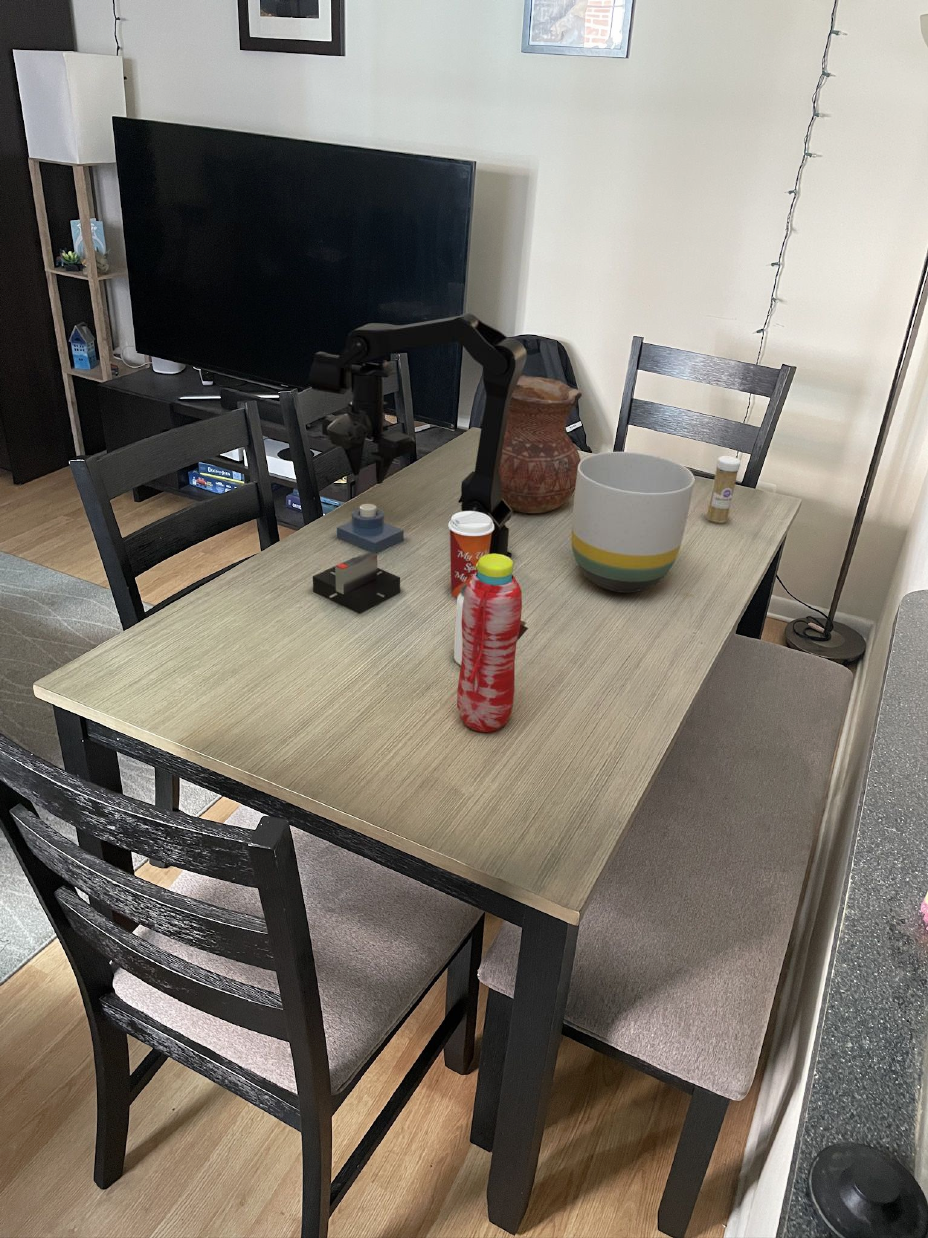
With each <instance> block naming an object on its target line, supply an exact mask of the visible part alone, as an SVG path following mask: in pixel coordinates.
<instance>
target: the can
mask: <svg viewBox="0 0 928 1238" xmlns="http://www.w3.org/2000/svg"><path fill="white" fill-rule="evenodd" d="M467 585H468V583H467V584H465V585H463V586H462V587H461V589H460V594H459V596H458V598H456V608H455V628H454V646H453V648H454V649H453V658H454V661H455V662H456V663H457V664H458V665H459V667H461V662H462V645H463V642H462V608H463V600H464V595H465V590H466V587H467Z"/></svg>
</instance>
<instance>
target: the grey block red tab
mask: <svg viewBox="0 0 928 1238" xmlns="http://www.w3.org/2000/svg"><path fill="white" fill-rule="evenodd" d="M352 558H353V559H352ZM352 558H350V559H351V560H350V559H348V560H349V561H347V560H346V561H347V562H345V561H343V562H344V563H343V562H339V563H338V564H336V565H337V566H336V565H335V577H336V591H337V592H340V593H342V594H345V593H347V592H349V591H351V590H353V589H356V588H358V587H360V586H362V585H364V584H366V583H368V582H370V581H372V580H374V579H376V578H377V568H378V554H377V553H373V552H370V551H366V552H364V553H362V554H360V555H357V556H355V557H352Z"/></svg>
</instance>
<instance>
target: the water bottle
mask: <svg viewBox="0 0 928 1238" xmlns="http://www.w3.org/2000/svg"><path fill="white" fill-rule="evenodd" d="M476 568H477V569H478V571H477V572H476V573H475V575H474V577H472V578H471V579H470V581H469V582H468V585H467V587H466V590H465V595H464V600H463V608H462V642H463V645H462V662H461V666H460V669H459V675H458V676H459V677H458V683H457V684H458V685H457V692H456V698H457V699H456V707H457V710H458V714H459V715H460V717H461V721H462V722H463V723H464V725H465V726H466V727H468V728H470V729H471V730H472V731H475V732H482V733H488V732H495V731H497V730H499V729H501V728H503V727H504V725H506V723H507V721H508V720H509V718H510V716H511V714H512V710H513V704H514V699H515V698H514V697H515V671H516V669H515V667H516V665H515V663H516V662H515V661H516V653H517V652H516V650H517V642H518V641H519V640H520V639H521V638H522V636H523V635H524V634H525V633H526V632H527V631H528V630H529V628H528V626H526V625H527V623H528V622H527V621H523V620H522V612H523V611H522V610H523V597H522V596H523V594H522V588H521V586H520V583H519V582H518V581H517V579H516V577H515V575H514V574H513V570H514V561H513V560H512V558H510V557H507V556H504V555H501V554H486V555H484V556H482V557H480V559H479V561H478V562H477V564H476Z"/></svg>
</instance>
